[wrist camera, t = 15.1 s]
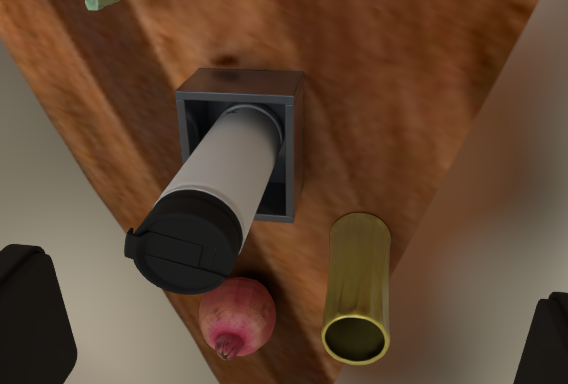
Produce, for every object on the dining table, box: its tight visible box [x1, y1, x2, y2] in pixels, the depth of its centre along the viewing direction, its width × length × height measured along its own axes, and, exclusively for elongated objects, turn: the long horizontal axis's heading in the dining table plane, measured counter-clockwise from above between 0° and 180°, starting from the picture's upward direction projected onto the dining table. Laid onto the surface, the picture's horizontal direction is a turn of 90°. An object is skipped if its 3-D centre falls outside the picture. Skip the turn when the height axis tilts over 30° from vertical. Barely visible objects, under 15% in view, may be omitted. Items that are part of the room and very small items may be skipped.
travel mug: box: [124, 102, 284, 295], centre depth 39 cm, size 6×7×20 cm
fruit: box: [199, 277, 276, 360], centre depth 53 cm, size 8×8×10 cm
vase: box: [321, 213, 391, 365], centre depth 46 cm, size 6×6×14 cm
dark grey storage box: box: [175, 68, 304, 223], centre depth 45 cm, size 11×9×7 cm
